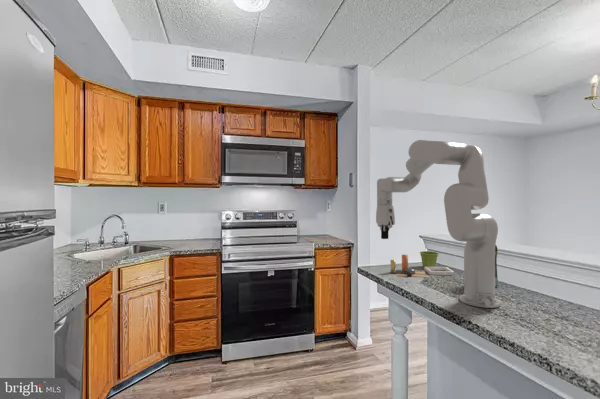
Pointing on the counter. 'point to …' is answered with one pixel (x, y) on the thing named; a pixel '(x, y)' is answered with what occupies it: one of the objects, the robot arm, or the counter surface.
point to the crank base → (409, 274)
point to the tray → (446, 272)
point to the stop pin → (404, 262)
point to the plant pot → (429, 258)
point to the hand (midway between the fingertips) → (384, 238)
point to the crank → (393, 270)
